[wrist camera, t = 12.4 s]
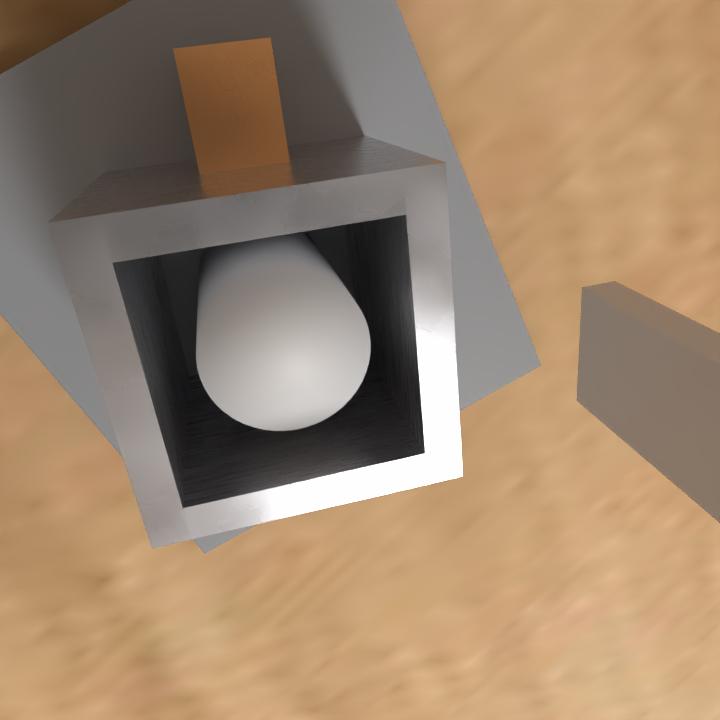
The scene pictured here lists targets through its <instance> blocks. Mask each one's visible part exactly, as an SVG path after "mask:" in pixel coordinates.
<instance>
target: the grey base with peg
mask: <svg viewBox="0 0 720 720" xmlns="http://www.w3.org/2000/svg"><path fill="white" fill-rule="evenodd" d="M269 37H271V43H272V49H273V56H274V62H275V69H276V75H277V82H278V88H279V95H280V101H281V108H282V114H283V121H284V127H285V134H286V140H287V146H291V145H298V144H305V143H312V142H319V141H326V140H333V139H340V138H347V137H354V136H362V135H365V136H368V137H371V138H375V139H378V140H381V141H384V142H387V143H390V144H393V145H396V146H399V147H402V148H405V149H408V150H411V151H414V152H417V153H420V154H423V155H426V156H429V157H432V158H435V159H438V160H441V161H444V162H446V172H447V191H448V209H449V228H450V247H451V266H452V285H453V304H454V323H455V342H456V361H457V380H458V399H459V411H460V410H462V409H464V408H466V407H467V406H469V405H471V404H473V403H475V402H476V401H478V400H480V399H482V398H484V397H485V396H487V395H489V394H491V393H492V392H494V391H496V390H498V389H500V388H501V387H503V386H505V385H507V384H508V383H510V382H512V381H514V380H516V379H517V378H519V377H521V376H523V375H525V374H526V373H528V372H530V371H532V370H533V369H535V368H537V367H539V366H541V364H540V361H539V359H538V356H537V354H536V351H535V349H534V346H533V344H532V341H531V338H530V336H529V333H528V331H527V328H526V326H525V323H524V321H523V318H522V316H521V313H520V311H519V308H518V306H517V303H516V301H515V298H514V296H513V293H512V291H511V288H510V286H509V283H508V281H507V278H506V276H505V273H504V271H503V268H502V266H501V263H500V261H499V258H498V256H497V253H496V251H495V248H494V246H493V243H492V241H491V238H490V236H489V233H488V230H487V228H486V225H485V223H484V220H483V218H482V215H481V213H480V210H479V208H478V205H477V203H476V200H475V198H474V195H473V193H472V190H471V188H470V185H469V183H468V180H467V178H466V175H465V173H464V170H463V168H462V165H461V163H460V160H459V158H458V155H457V153H456V150H455V148H454V145H453V143H452V140H451V138H450V135H449V133H448V130H447V128H446V125H445V122H444V120H443V117H442V115H441V112H440V110H439V107H438V105H437V102H436V100H435V97H434V95H433V92H432V90H431V87H430V85H429V82H428V80H427V77H426V75H425V72H424V70H423V67H422V65H421V62H420V60H419V57H418V55H417V52H416V50H415V47H414V45H413V42H412V40H411V37H410V35H409V32H408V30H407V27H406V25H405V22H404V20H403V17H402V15H401V12H400V9H399V7H398V4H397V2H396V0H131V1H130V2H128V3H126V4H124V5H122V6H121V7H119V8H117V9H115V10H114V11H112V12H110V13H108V14H106V15H105V16H103V17H101V18H99V19H97V20H96V21H94V22H92V23H90V24H89V25H87V26H85V27H83V28H81V29H80V30H78V31H76V32H74V33H73V34H71V35H69V36H67V37H65V38H64V39H62V40H60V41H58V42H57V43H55V44H53V45H51V46H49V47H48V48H46V49H44V50H42V51H41V52H39V53H37V54H35V55H33V56H32V57H30V58H28V59H26V60H24V61H23V62H21V63H19V64H17V65H16V66H14V67H12V68H10V69H8V70H7V71H5V72H3V73H1V74H0V314H1V315H2V316H3V318H4V319H5V320H6V321H7V322H8V323H9V325H10V326H11V327H12V328H13V329H14V331H15V332H16V333H17V334H18V335H19V336H20V338H21V339H22V340H23V341H24V342H25V343H26V345H27V346H28V347H29V348H30V349H31V350H32V352H33V353H34V354H35V355H36V356H37V357H38V359H39V360H40V361H41V362H42V363H43V365H44V366H45V367H46V368H47V369H48V370H49V372H50V373H51V374H52V375H53V376H54V377H55V379H56V380H57V381H58V382H59V383H60V384H61V386H62V387H63V388H64V389H65V390H66V391H67V393H68V394H69V395H70V396H71V397H72V399H73V400H74V401H75V402H76V403H77V404H78V406H79V407H80V408H81V409H82V410H83V411H84V413H85V414H86V415H87V416H88V417H89V418H90V420H91V421H92V422H93V423H94V424H95V425H96V427H97V428H98V429H99V430H100V431H101V433H102V434H103V435H104V436H105V437H106V438H107V440H108V441H109V442H110V443H111V444H112V445H113V447H114V448H115V449H116V450H117V451H118V452H119V454H120V455H121V456H122V454H121V450H120V447H119V444H118V441H117V438H116V435H115V432H114V429H113V426H112V423H111V420H110V416H109V413H108V410H107V407H106V404H105V401H104V398H103V395H102V392H101V389H100V386H99V383H98V379H97V376H96V373H95V370H94V367H93V364H92V361H91V358H90V355H89V352H88V349H87V345H86V342H85V339H84V336H83V333H82V330H81V327H80V324H79V321H78V318H77V315H76V311H75V308H74V305H73V302H72V299H71V296H70V293H69V290H68V287H67V284H66V281H65V277H64V274H63V271H62V268H61V265H60V262H59V259H58V256H57V253H56V250H55V247H54V243H53V240H52V237H51V234H50V231H49V228H48V225H47V222H49V221H50V220H51V219H52V218H53V217H54V216H55V215H56V214H58V213H59V212H60V211H61V210H62V209H63V208H64V207H65V206H67V205H68V204H69V203H70V202H71V201H72V200H73V199H74V198H76V197H77V196H78V195H79V194H80V193H81V192H82V191H83V190H85V189H86V188H87V187H88V186H89V185H90V184H91V183H92V182H94V181H95V180H96V179H97V178H98V177H99V176H100V175H101V174H103V173H104V172H109V171H116V170H123V169H130V168H137V167H144V166H151V165H158V164H165V163H172V162H179V161H186V160H193V159H196V154H195V150H194V145H193V140H192V136H191V131H190V126H189V122H188V117H187V112H186V107H185V103H184V98H183V93H182V89H181V84H180V79H179V75H178V70H177V65H176V61H175V56H174V51H173V49H174V48H182V47H191V46H200V45H208V44H217V43H226V42H234V41H243V40H252V39H260V38H269ZM159 257H160V261H161V265H162V269H163V273H164V277H165V281H166V285H167V288H168V292H169V296H170V300H171V304H172V308H173V312H174V316H175V320H176V324H177V328H178V332H179V336H180V340H181V344H182V348H183V352H184V355H185V359H186V363H187V367H188V371H189V375H190V376H194V375H199V376H200V379H201V382H202V384H203V386H204V388H205V390H206V392H207V393H208V395H209V397H210V398H211V399H212V400H213V401H214V403H215V404H216V405H217V406H218V407H219V408H220V409H221V410H222V411H223V412H225V413H226V414H227V415H229V416H230V417H232V418H233V419H235V420H237V421H239V422H241V423H243V424H246V425H248V426H251V427H254V428H259V429H263V430H271V431H288V430H296V429H300V428H305V427H308V426H311V425H314V424H317V423H319V422H321V421H323V420H325V419H327V418H328V417H330V416H331V415H333V414H334V413H336V412H337V411H338V410H340V409H341V408H342V407H343V406H344V405H345V404H346V403H347V402H348V401H349V400H350V399H351V398H352V396H353V395H354V394H355V393H356V391H357V390H358V388H359V386H360V385H361V383H362V381H363V379H364V376H365V374H366V372H367V368H368V364H369V359H370V352H371V341H370V334H369V329H368V326H367V322H366V320H365V317H364V315H363V313H362V311H361V310H360V308H359V306H358V305H357V303H356V302H355V298H354V290H353V282H352V274H351V266H350V258H349V249H348V241H347V233H346V225H340V226H334V227H328V228H322V229H316V230H310V231H304V232H298V233H292V234H285V235H279V236H273V237H267V238H261V239H255V240H249V241H243V242H237V243H231V244H224V245H218V246H212V247H206V248H200V249H194V250H188V251H182V252H176V253H170V254H163V255H159ZM255 525H257V524H255ZM255 525H251V526H247V527H243V528H238V529H234V530H230V531H225V532H221V533H217V534H213V535H208V536H204V537H200V538H195V539H193V540H194V542H195V543H196V544H197V545H198V546H199V547H200V549H201V550H202V551H203V552H204V553H207V552H209V551H210V550H212V549H214V548H216V547H218V546H219V545H221V544H223V543H225V542H226V541H228V540H230V539H232V538H234V537H235V536H237V535H239V534H241V533H243V532H244V531H246V530H248V529H250V528H251V527H253V526H255Z"/></svg>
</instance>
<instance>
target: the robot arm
mask: <svg viewBox="0 0 720 720" xmlns="http://www.w3.org/2000/svg"><path fill="white" fill-rule="evenodd" d="M577 401H578V402H579V403H580V404H581V405H583V406H584V407H585V408H586V409H587V410H588V411H590V412H591V413H592V414H593V415H594V416H595V417H597V418H598V419H599V420H600V421H601V422H602V423H604V424H605V425H606V426H607V427H608V428H609V429H611V430H612V431H613V432H614V433H615V434H616V435H618V436H619V437H620V438H621V439H622V440H623V441H625V442H626V443H627V444H628V445H629V446H631V447H632V448H633V449H634V450H635V451H636V452H638V453H639V454H640V455H641V456H642V457H643V458H645V459H646V460H647V461H648V462H649V463H650V464H652V465H653V466H654V467H655V468H656V469H657V470H659V471H660V472H661V473H662V474H663V475H664V476H666V477H667V478H668V479H669V480H670V481H671V482H673V483H674V484H675V485H676V486H677V487H678V488H680V489H681V490H682V491H683V492H684V493H685V494H687V495H688V496H689V497H690V498H691V499H692V500H694V501H695V502H696V503H697V504H698V505H699V506H701V507H702V508H703V509H704V510H705V511H706V512H708V513H709V514H710V515H711V516H712V517H713V518H715V519H716V520H717V521H718V522H719V523H720V333H718V332H716V331H714V330H712V329H710V328H708V327H706V326H704V325H702V324H700V323H698V322H696V321H694V320H692V319H690V318H688V317H686V316H684V315H682V314H680V313H678V312H676V311H674V310H672V309H670V308H668V307H666V306H664V305H662V304H660V303H658V302H656V301H654V300H652V299H650V298H648V297H646V296H644V295H642V294H640V293H638V292H636V291H634V290H632V289H630V288H628V287H626V286H624V285H622V284H620V283H618V282H615V281H613V282H608V283H603V284H598V285H593V286H588V287H582V300H581V321H580V341H579V362H578V383H577Z"/></svg>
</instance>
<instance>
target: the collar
mask: <svg viewBox="0 0 720 720" xmlns="http://www.w3.org/2000/svg"><path fill="white" fill-rule="evenodd" d="M173 51H174V56H175V61H176V65H177V70H178V75H179V79H180V84H181V89H182V93H183V98H184V103H185V107H186V112H187V117H188V122H189V126H190V131H191V136H192V140H193V145H194V150H195V154H196V159H193V160H186V161H179V162H172V163H165V164H158V165H151V166H144V167H137V168H130V169H123V170H116V171H109V172H104V173H103V174H101V175H100V176H99V177H98V178H97V179H96V180H95V181H94V182H92V183H91V184H90V185H89V186H88V187H87V188H86V189H85V190H83V191H82V192H81V193H80V194H79V195H78V196H77V197H76V198H74V199H73V200H72V201H71V202H70V203H69V204H68V205H67V206H65V207H64V208H63V209H62V210H61V211H60V212H59V213H58V214H56V215H55V216H54V217H53V218H52V219H51V220H50V221H49V222H47V225H48V228H49V231H50V234H51V237H52V240H53V243H54V247H55V250H56V253H57V256H58V259H59V262H60V265H61V268H62V271H63V274H64V277H65V281H66V284H67V287H68V290H69V293H70V296H71V299H72V302H73V305H74V308H75V311H76V315H77V318H78V321H79V324H80V327H81V330H82V333H83V336H84V339H85V342H86V345H87V349H88V352H89V355H90V358H91V361H92V364H93V367H94V370H95V373H96V376H97V379H98V383H99V386H100V389H101V392H102V395H103V398H104V401H105V404H106V407H107V410H108V413H109V416H110V420H111V423H112V426H113V429H114V432H115V435H116V438H117V441H118V444H119V447H120V450H121V454H122V457H123V460H124V463H125V466H126V469H127V472H128V475H129V478H130V481H131V484H132V488H133V491H134V494H135V497H136V500H137V503H138V506H139V509H140V512H141V515H142V518H143V522H144V525H145V528H146V531H147V534H148V537H149V540H150V543H151V546H152V549H153V548H157V547H161V546H165V545H170V544H174V543H178V542H183V541H187V540H191V539H195V538H200V537H204V536H208V535H213V534H217V533H221V532H225V531H230V530H234V529H238V528H243V527H247V526H251V525H255V524H260V523H264V522H268V521H273V520H277V519H281V518H285V517H290V516H294V515H298V514H303V513H307V512H311V511H315V510H320V509H324V508H328V507H333V506H337V505H341V504H346V503H350V502H354V501H358V500H363V499H367V498H371V497H376V496H380V495H384V494H388V493H393V492H397V491H401V490H406V489H410V488H414V487H418V486H423V485H427V484H431V483H436V482H440V481H444V480H448V479H453V478H457V477H461V476H463V475H462V456H461V437H460V418H459V399H458V380H457V361H456V342H455V323H454V304H453V285H452V266H451V247H450V228H449V209H448V191H447V172H446V162H444V161H441V160H438V159H435V158H432V157H429V156H426V155H423V154H420V153H417V152H414V151H411V150H408V149H405V148H402V147H399V146H396V145H393V144H390V143H387V142H384V141H381V140H378V139H375V138H371V137H368V136H365V135H362V136H354V137H347V138H340V139H333V140H326V141H319V142H312V143H305V144H298V145H291V146H287V140H286V134H285V127H284V121H283V114H282V108H281V101H280V95H279V88H278V82H277V75H276V69H275V62H274V56H273V49H272V43H271V37H269V38H260V39H252V40H243V41H234V42H226V43H217V44H208V45H200V46H191V47H182V48H174V49H173ZM340 225H346V233H347V241H348V249H349V258H350V266H351V274H352V282H353V290H354V298H355V302H356V303H357V305H358V306H359V308H360V310H361V311H362V313H363V315H364V317H365V320H366V322H367V326H368V329H369V334H370V341H371V352H370V359H369V364H368V368H367V372H366V374H365V376H364V379H363V381H362V383H361V385H360V386H359V388H358V390H357V391H356V393H355V394H354V395H353V396H352V398H351V399H350V400H349V401H348V402H347V403H346V404H345V405H344V406H343V407H342V408H341V409H340V410H338V411H337V412H336V413H334V414H333V415H331V416H330V417H328V418H327V419H325V420H323V421H321V422H319V423H317V424H314V425H311V426H308V427H305V428H300V429H296V430H288V431H271V430H263V429H259V428H254V427H251V426H248V425H246V424H243V423H241V422H239V421H237V420H235V419H233V418H232V417H230V416H229V415H227V414H226V413H225V412H223V411H222V410H221V409H220V408H219V407H218V406H217V405H216V404H215V403H214V401H213V400H212V399H211V398H210V397H209V395H208V393H207V392H206V390H205V388H204V386H203V384H202V382H201V379H200V376H199V375H194V376H190V375H189V371H188V367H187V363H186V359H185V355H184V352H183V348H182V344H181V340H180V336H179V332H178V328H177V324H176V320H175V316H174V312H173V308H172V304H171V300H170V296H169V292H168V288H167V285H166V281H165V277H164V273H163V269H162V265H161V261H160V257H159V255H163V254H170V253H176V252H182V251H188V250H194V249H200V248H206V247H212V246H218V245H224V244H231V243H237V242H243V241H249V240H255V239H261V238H267V237H273V236H279V235H285V234H292V233H298V232H304V231H310V230H316V229H322V228H328V227H334V226H340Z"/></svg>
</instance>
